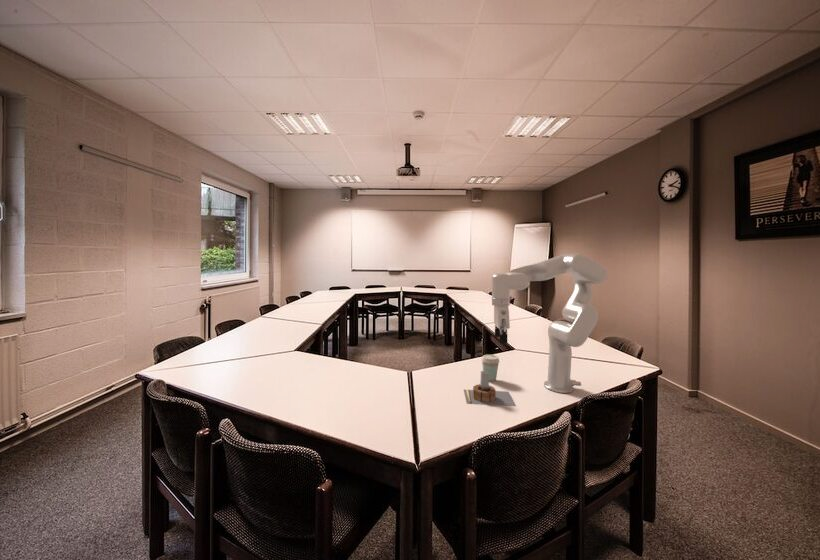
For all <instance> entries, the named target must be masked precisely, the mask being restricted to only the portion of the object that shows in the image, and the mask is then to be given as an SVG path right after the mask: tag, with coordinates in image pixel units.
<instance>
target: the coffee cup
mask: <svg viewBox="0 0 820 560" xmlns="http://www.w3.org/2000/svg"><path fill="white" fill-rule="evenodd" d="M481 357H482V358H481V362H482V371H488V373H489V382H490V383H494V382H497V375H498V370H499V363H500V358H499V357H498V356H497V355H495V354H484V355H482V356H481Z"/></svg>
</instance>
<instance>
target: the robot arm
mask: <svg viewBox="0 0 820 560" xmlns="http://www.w3.org/2000/svg"><path fill="white" fill-rule="evenodd" d="M568 273H569V274H570V275H571V280H572V281H573V291H572V293H571V295H570V296H569V298H568V299H567V302H566V303H565V305H564V307H563V308H562V311H561V314H562V315H561V316H562V317H563V318H564V319H565V321H562V320H555V321H552V322H551V323H550V324H549V326H548V329H547V337H548V344H549V346H548V347H549V348H548V349H549V350H548V367H547V368H548V369H547V372H548V373H547V380H545V381H544V383H543V386H544V387H545V388H546V389H547V390H549V391H552V392H555V393H560V394H561V393H562V394H569V393H573V392H574V387H575V386H576V387H577V386H578V387H581V386H582V382H581V381H576V379H571V372H572V371H571V370H572V369H571V368H572V356H573V352H572V347H573V348H578V347H581V346H583V345H584V344H585V343H586V341H587V340H588V338H589V336H590V334H591V333H592V331H593V329H594V328H595V326H596V324H597V322H598V321H599V311H598V310H597V308H596V307H595V306H593V304H591V302H592V300H593V298H594V289H593V286H592V285H601V284H602V283H604V282H606V280H607V278H608V276H609V275H608V270H607V268H606V267H605V266H604V265H602V264H600V263H599V262H597V261H595V260H593V259H591V258H590V257H588V256H586V255H583V254H581V253H563V254H560V255H556V256H554V257H552V258H549V259H546V260H543V261H540V262H536V263H532V264H528V265H524V266H521V267H516V268H514V269H511V270H508V271H506V272H505V273H494V274H493V275H492V276H491V306H493V324H494V338H499V343H500V344H508V330H509V329H510V328H511V326H510V323H511V322H510V310H509V306H511V303H510V302H511V298H510V297H511V290H514V291H515V290H516V291H523V290H525V289H527V288H528V287H529V286H530V284H531V283H530V282H542V281H548V280H550V279H551V280H552V279H554V278H556V277H559V276H562V275H564V274H568ZM566 320H567V321H569V322H567V321H566ZM570 322H572V323H570Z"/></svg>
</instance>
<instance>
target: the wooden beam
mask: <svg viewBox="0 0 820 560" xmlns="http://www.w3.org/2000/svg"><path fill="white" fill-rule="evenodd" d="M479 384H480V390H481V391H488V389H489V386H490V385H489V384H490V383H489V373H488V371H483V370H481V371H480V383H479Z"/></svg>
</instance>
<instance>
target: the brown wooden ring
mask: <svg viewBox="0 0 820 560" xmlns="http://www.w3.org/2000/svg"><path fill="white" fill-rule="evenodd" d="M472 390H473V398H474V399H475V400H477V401H479V402H481V401H482V402H487V403H489V402H493V401H495V393H496V391H497V390H496V388H495V387H493V386H492V385H489V389H488V391H481V390H480V383H479V384H476V385H474V386H473V387H472Z"/></svg>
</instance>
